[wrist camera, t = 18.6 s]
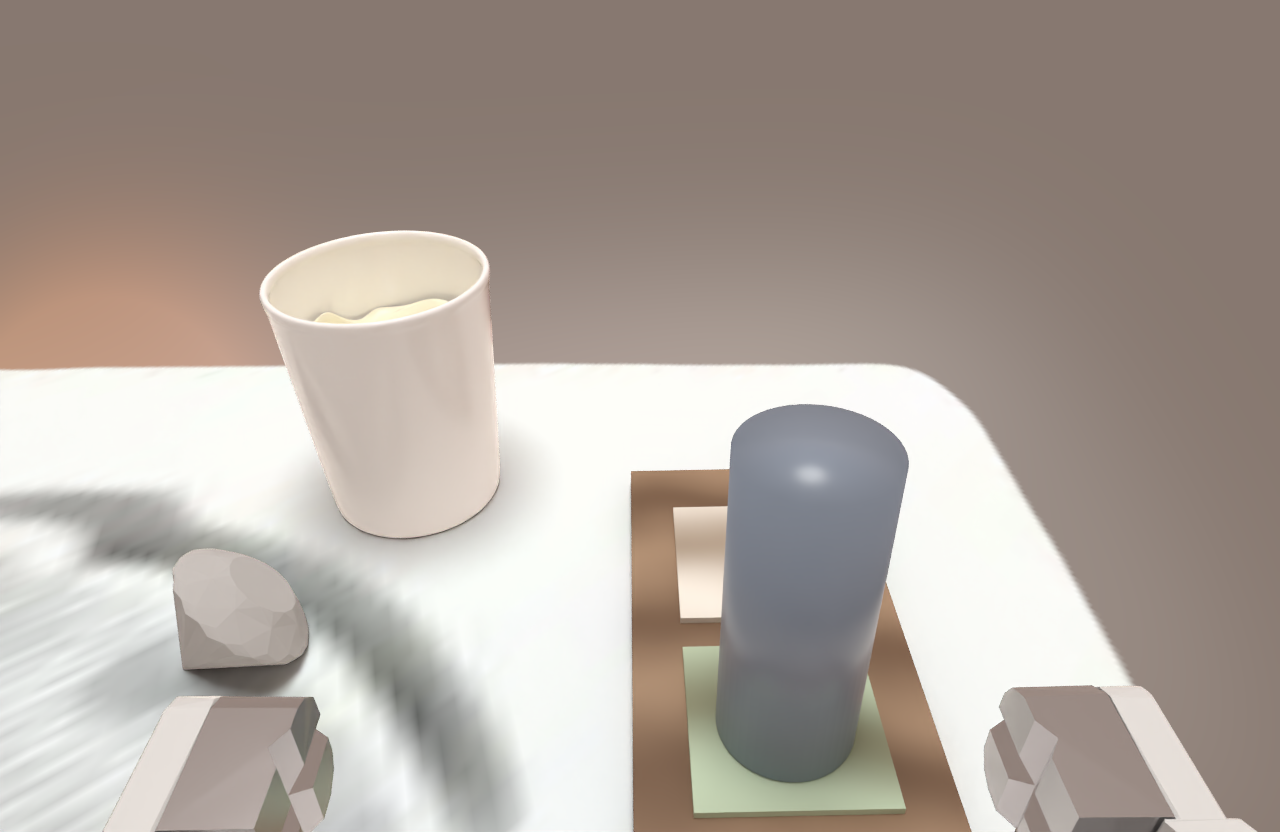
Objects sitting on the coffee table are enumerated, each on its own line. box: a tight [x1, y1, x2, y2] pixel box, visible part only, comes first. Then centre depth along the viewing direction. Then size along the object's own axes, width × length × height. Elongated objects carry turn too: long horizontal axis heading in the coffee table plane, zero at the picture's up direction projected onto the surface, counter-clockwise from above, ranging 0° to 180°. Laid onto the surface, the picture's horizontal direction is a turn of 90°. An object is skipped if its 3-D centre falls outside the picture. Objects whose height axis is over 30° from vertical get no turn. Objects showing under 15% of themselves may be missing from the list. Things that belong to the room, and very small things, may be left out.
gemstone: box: [172, 548, 308, 670], centre depth 35 cm, size 6×6×5 cm
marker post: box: [716, 404, 909, 782], centre depth 28 cm, size 5×5×12 cm
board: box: [631, 469, 971, 832], centre depth 35 cm, size 22×11×1 cm, turn 1°
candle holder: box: [259, 231, 500, 538], centre depth 41 cm, size 10×10×12 cm
